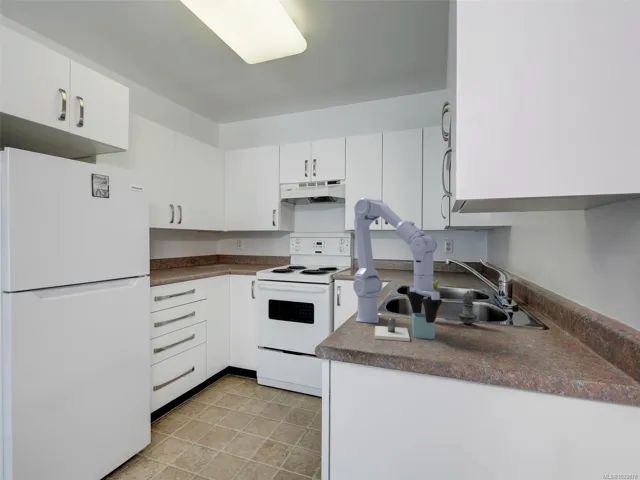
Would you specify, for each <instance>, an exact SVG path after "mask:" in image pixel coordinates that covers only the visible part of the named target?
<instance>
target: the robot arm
mask: <svg viewBox="0 0 640 480" xmlns="http://www.w3.org/2000/svg"><path fill="white" fill-rule="evenodd" d="M353 209H354V220H353V228H354V237H355V244H356V245H355V246H356V254H357V263H358V264H357V265H358V270H357V271H356V272H355V274H354V275H353V279H354V281H353V284H352V287H353V291H354V293H355V294H356V296H357V316H356V319H355V322H357V323H374V324H379V321H380V319H379V317H380V316H379V313H378V312H379V311H378V310H379V309H378V308H379V307H378V303H379V298H378V296H379V295H380V294H379V293H380V292H381V291H382V289H383V282H382V280H381V278H380V273H379V272H378V271H377V270H376V268H375V266H374V265H375V264H374V256H373V248H372V240H371V230H370V226H371V224H372V223H374V222H375V221H376V220H378V219H379V218H382V219H383V220H384V221H385V222H387V223H388V224H390V225H391V226H392V227H393V228H394V229H395V233H396V235H397V236H398V237H400V239H402V240H403V241H404V242H405V243H406V244H407V245H408V246H409V249H410V252H411V253H412V258H413V285H409V292H407V293H406V297H407V298H408V301H409V303H410V305H411V306H410V307H411V310H412V313H422V306H423V308H424V313H425V317H426V322H427V323H434V321H435V322H436V319H435V317H436V313H437V310H438V308H439V309H440V306H441V305H442V303H443V300H442V299H441V298H440V299H439V293H438V292H436V291H435V290H436V289H435V290H434V289H433V282H434V252H436V250H437V248H438V244H437V240H436V239H435V238H434V236H432V235H426V232H425V231H424V230H420V229H419V228H418V227H417V226H416V225H415V222H414V221H411V220H403V219H402V218H400V217H399V216H398V214H396V212H394V211H393V210H392V209H391V208H390V207H389V206H388V204H387V203H385V202H384V201H383V200H381V199H373V198H366V197H360V198H359V199H358V200H357V201H356V203H355V204H354V206H353ZM426 297H428V298H426ZM436 318H437V317H436Z"/></svg>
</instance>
